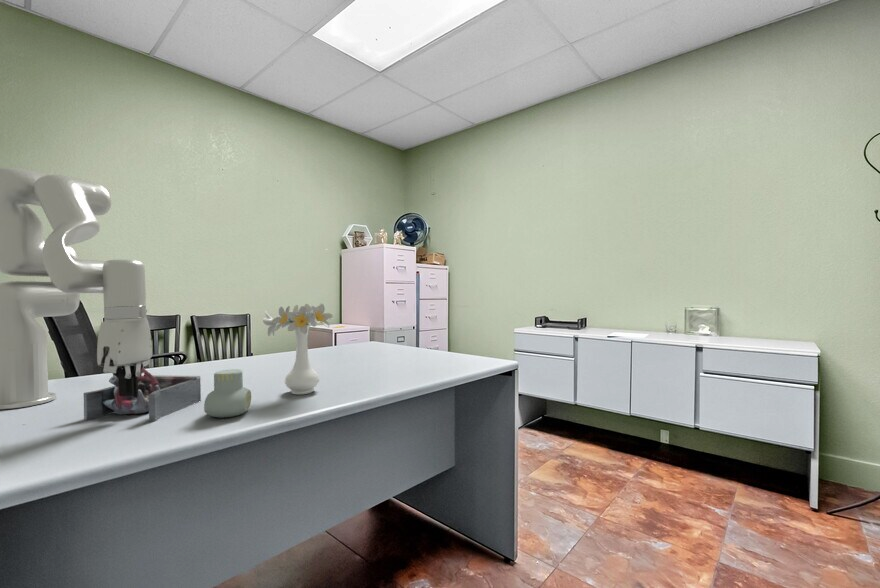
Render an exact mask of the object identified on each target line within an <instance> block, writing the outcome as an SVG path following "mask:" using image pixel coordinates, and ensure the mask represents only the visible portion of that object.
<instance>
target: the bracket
mask: <svg viewBox="0 0 880 588" xmlns="http://www.w3.org/2000/svg"><path fill="white" fill-rule="evenodd" d="M151 375H152V376H154V377H155V378H156V380H157V381H158V383H159V388H160V390H157V391H154V392H152V393H151V394H149V411H148V421H149V422H156V421H158V420H159V419H161V418H162V417H164V416H169V414H172V413H175V412H177V411H180V410H182V409H186V408H188V407H189V406H192V405H194V403H195V404H197V403H200V402H201V401H202V398H201V397H202V393H201V385H202V384H201V375H163V374H161V375H160V374H159V375H156V374H155V375H153V374H151ZM148 378H149V377H148ZM141 382H142V383H143V384H144V385H145V388H146V391H147V386H148V385H149V382H146V381H143V380H142V381H141ZM115 387H116V386H115V385H112V386H109V387H106V388H105V387H104V388H102V389H101V388H100V389H97V390H91V391H87V392H83V420H85V421H89V420H94V419H98V418H102V417H104V416H107V415H110V414H114V413H116V412H115V411H114V410H112V409H111V408H109V407H107V406H106V405H104V404H103V402H104V401H106V400H113V399H115V396H114V389H115ZM199 401H200V402H199ZM113 412H114V413H113Z"/></svg>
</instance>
